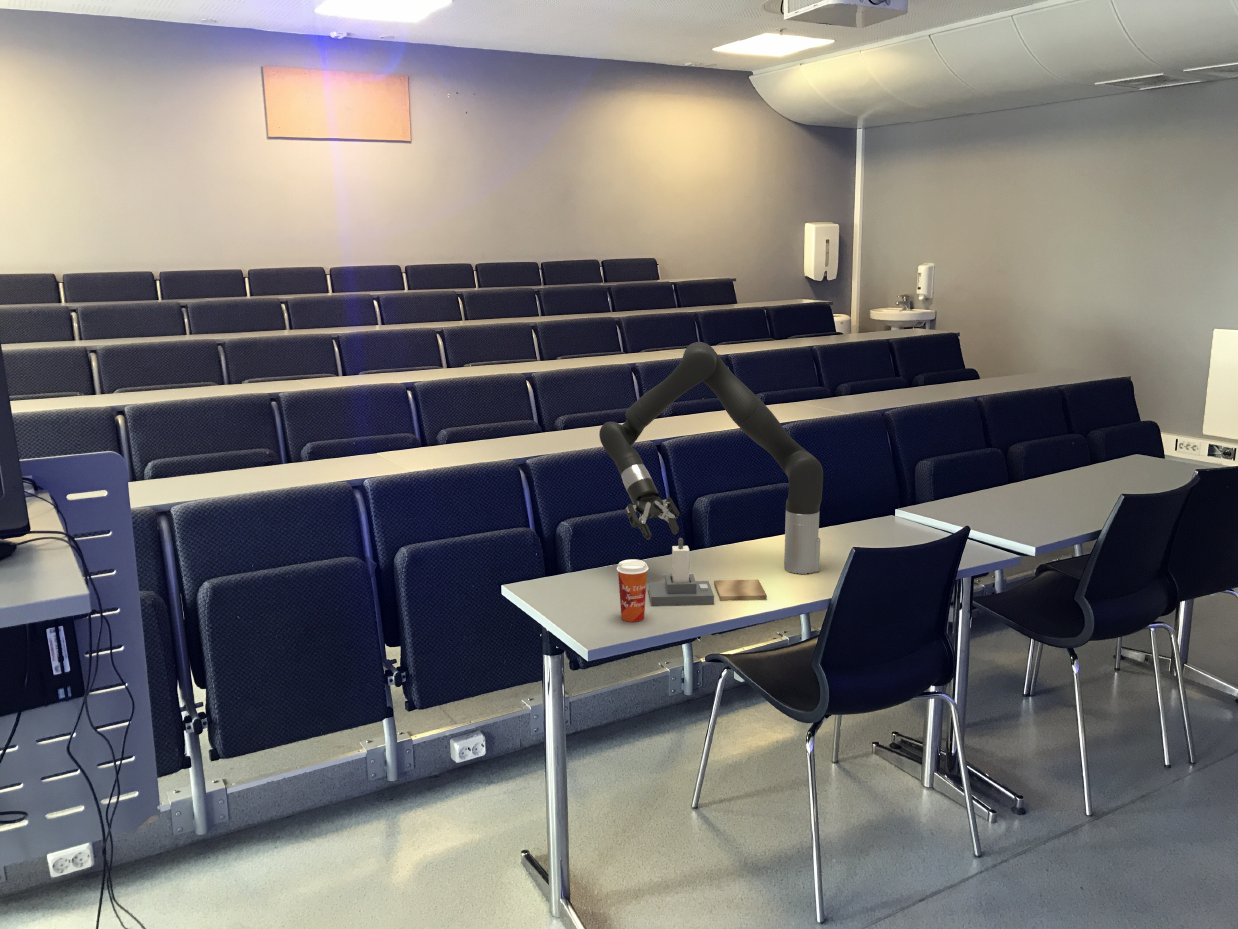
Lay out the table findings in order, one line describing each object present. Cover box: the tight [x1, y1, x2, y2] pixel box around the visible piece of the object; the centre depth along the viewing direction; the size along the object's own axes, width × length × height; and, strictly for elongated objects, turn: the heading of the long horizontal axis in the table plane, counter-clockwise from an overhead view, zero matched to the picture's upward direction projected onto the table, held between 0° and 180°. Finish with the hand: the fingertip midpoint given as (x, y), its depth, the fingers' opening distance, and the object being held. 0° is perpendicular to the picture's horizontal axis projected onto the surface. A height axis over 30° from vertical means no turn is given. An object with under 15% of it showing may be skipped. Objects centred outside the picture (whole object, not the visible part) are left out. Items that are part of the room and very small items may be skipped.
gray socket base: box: [648, 573, 715, 607], centre depth 242 cm, size 16×11×5 cm
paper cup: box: [616, 558, 650, 623], centre depth 228 cm, size 8×8×14 cm
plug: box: [671, 537, 690, 583], centre depth 240 cm, size 4×4×14 cm
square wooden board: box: [713, 578, 768, 602], centre depth 246 cm, size 12×12×1 cm
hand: (663, 535), depth 246 cm, fingers open, 8 cm apart
